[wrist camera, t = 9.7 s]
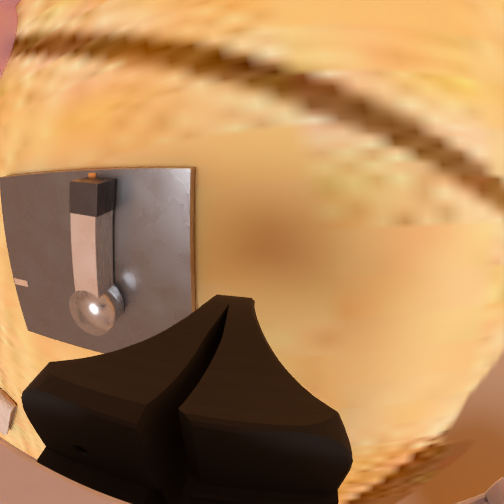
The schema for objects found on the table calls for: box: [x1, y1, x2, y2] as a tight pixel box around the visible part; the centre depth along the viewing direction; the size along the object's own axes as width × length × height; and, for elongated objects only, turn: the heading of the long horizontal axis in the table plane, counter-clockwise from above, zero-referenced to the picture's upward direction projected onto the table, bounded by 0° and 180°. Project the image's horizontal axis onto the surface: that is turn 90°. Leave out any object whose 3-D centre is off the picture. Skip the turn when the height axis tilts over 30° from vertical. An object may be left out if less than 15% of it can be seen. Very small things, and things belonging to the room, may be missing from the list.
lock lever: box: [69, 177, 124, 336], centre depth 19 cm, size 11×4×2 cm, turn 171°
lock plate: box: [0, 167, 196, 353], centre depth 21 cm, size 15×18×1 cm
